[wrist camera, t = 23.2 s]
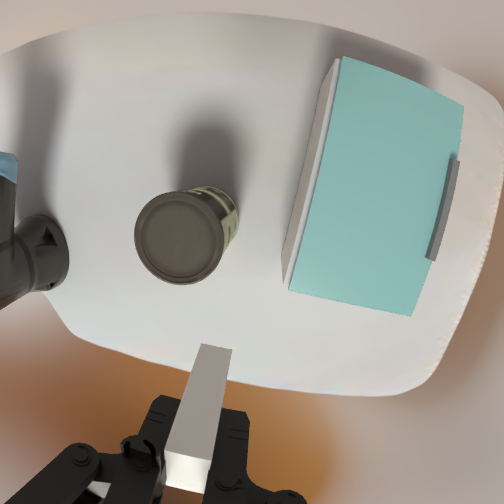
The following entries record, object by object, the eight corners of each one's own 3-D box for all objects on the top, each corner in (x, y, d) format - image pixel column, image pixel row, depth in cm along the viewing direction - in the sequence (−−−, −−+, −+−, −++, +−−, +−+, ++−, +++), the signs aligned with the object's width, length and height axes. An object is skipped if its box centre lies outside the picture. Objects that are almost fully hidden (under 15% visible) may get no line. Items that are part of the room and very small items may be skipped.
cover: (288, 287, 33) (288, 293, 31) (341, 58, 26) (344, 52, 24) (408, 312, 33) (413, 319, 31) (459, 107, 26) (467, 104, 24)
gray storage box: (280, 257, 45) (283, 285, 34) (320, 86, 38) (335, 57, 26) (376, 279, 45) (404, 310, 33) (416, 119, 38) (455, 106, 26)
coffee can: (164, 198, 44) (121, 210, 30) (226, 176, 42) (205, 177, 29) (186, 260, 46) (153, 294, 33) (248, 242, 45) (236, 272, 31)
